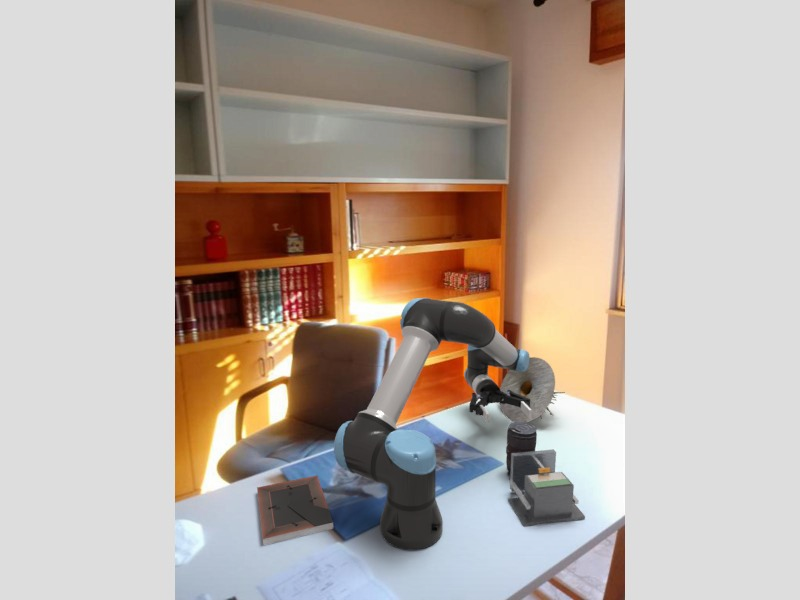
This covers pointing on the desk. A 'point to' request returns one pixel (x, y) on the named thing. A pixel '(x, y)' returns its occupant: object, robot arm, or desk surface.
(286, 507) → the picture frame
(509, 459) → the camera lens
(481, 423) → the desk surface
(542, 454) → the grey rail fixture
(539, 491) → the grey box on baseplate
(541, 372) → the disc
